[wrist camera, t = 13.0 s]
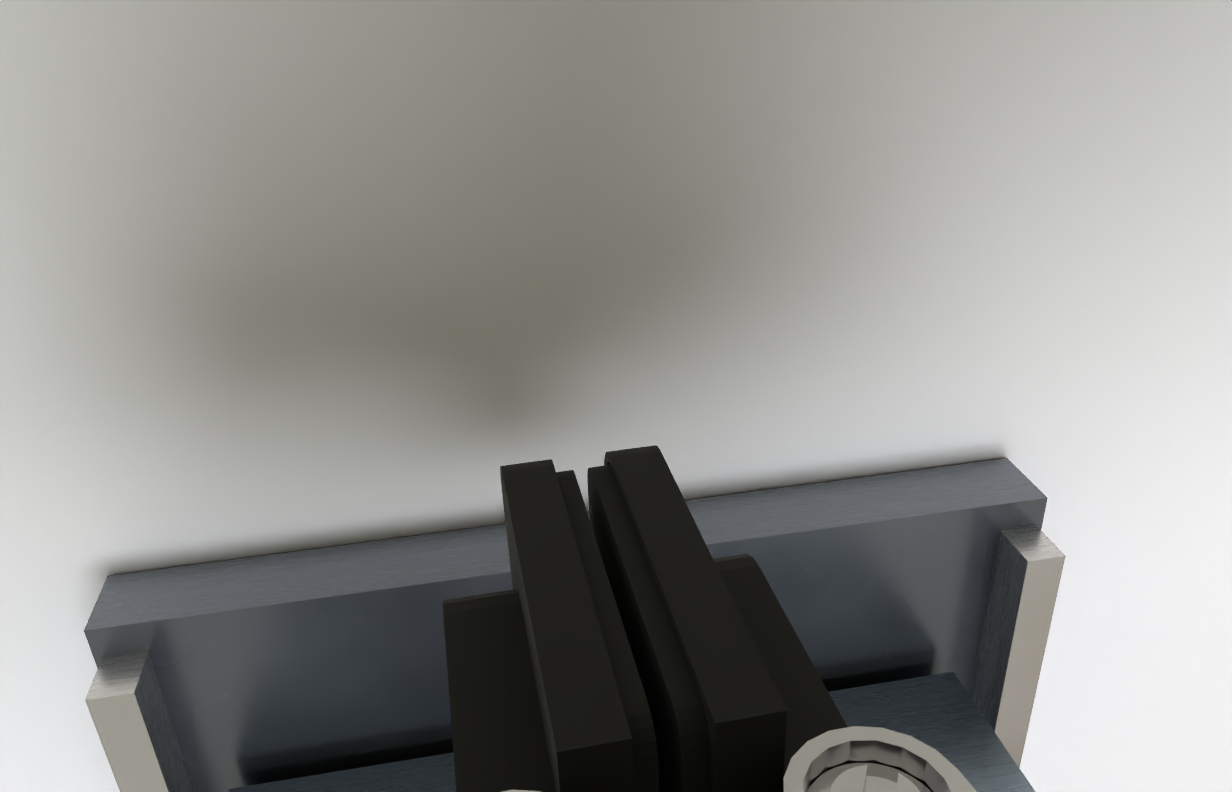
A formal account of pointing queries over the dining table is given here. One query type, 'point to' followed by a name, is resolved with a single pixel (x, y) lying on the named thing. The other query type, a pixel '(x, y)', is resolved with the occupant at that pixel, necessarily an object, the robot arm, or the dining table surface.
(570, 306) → the dining table surface
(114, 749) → the tray
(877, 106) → the dining table surface
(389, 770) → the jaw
